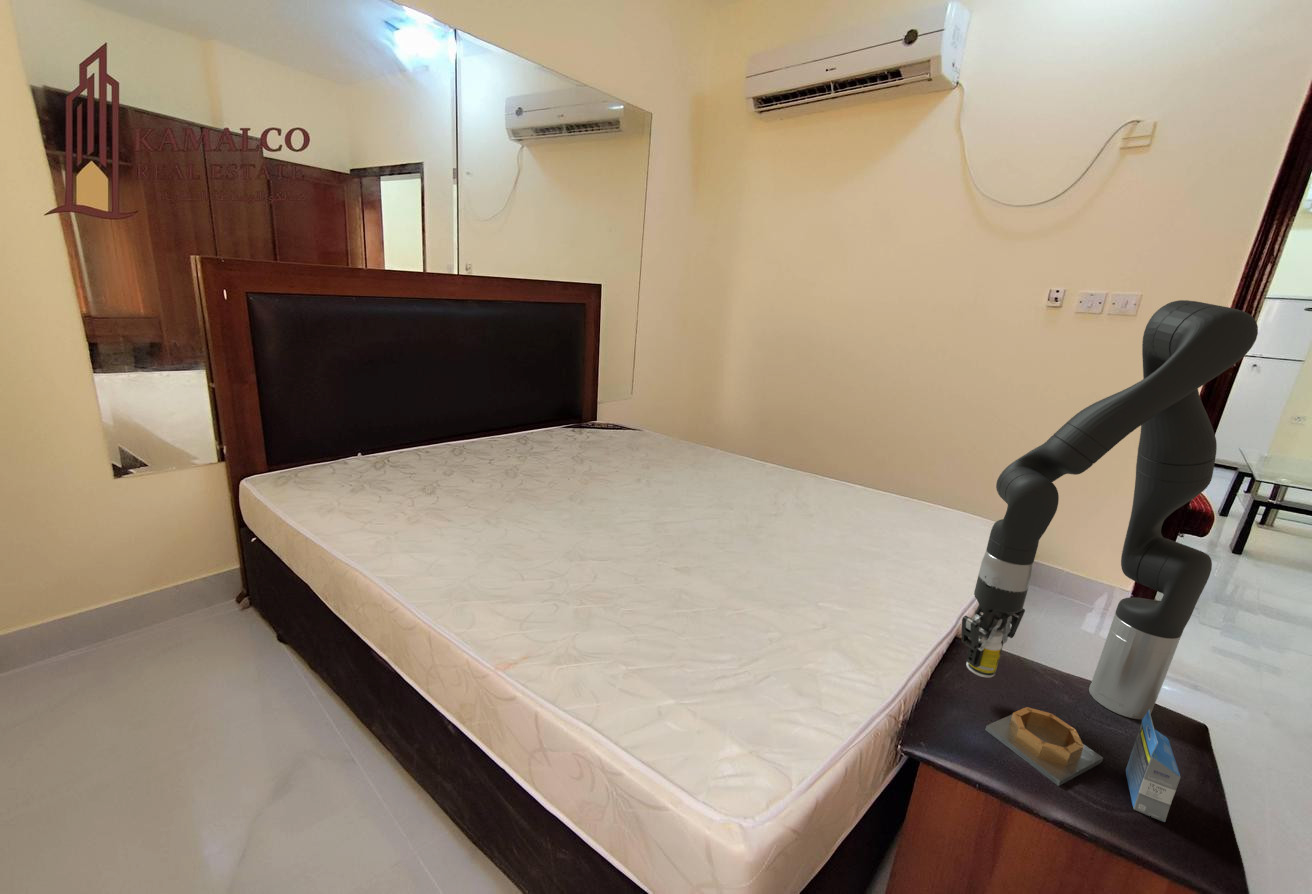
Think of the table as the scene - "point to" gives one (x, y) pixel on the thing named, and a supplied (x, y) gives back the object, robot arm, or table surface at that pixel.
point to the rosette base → (1042, 764)
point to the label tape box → (1152, 772)
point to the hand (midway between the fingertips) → (982, 660)
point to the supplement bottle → (989, 656)
